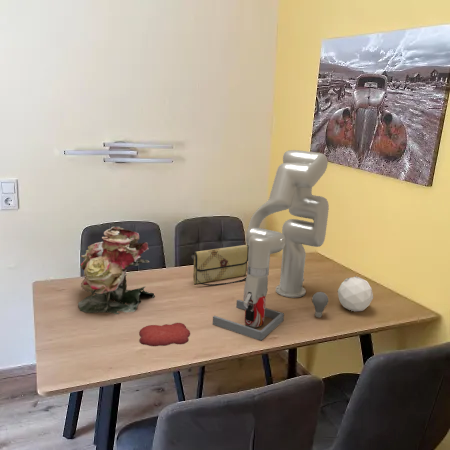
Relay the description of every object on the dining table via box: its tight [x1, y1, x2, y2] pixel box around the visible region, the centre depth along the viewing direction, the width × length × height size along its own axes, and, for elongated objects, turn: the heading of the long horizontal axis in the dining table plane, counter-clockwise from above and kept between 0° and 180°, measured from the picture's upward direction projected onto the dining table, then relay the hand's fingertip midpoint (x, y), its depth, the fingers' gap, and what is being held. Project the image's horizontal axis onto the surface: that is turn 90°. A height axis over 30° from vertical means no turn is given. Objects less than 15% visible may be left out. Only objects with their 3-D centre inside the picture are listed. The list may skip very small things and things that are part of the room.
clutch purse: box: [191, 244, 249, 287], centre depth 204 cm, size 30×7×15 cm, turn 120°
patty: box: [138, 322, 191, 347], centre depth 158 cm, size 18×14×2 cm
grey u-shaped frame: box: [212, 299, 285, 341], centre depth 169 cm, size 18×20×3 cm
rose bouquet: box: [77, 225, 155, 315], centre depth 177 cm, size 26×29×30 cm
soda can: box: [244, 295, 267, 328], centre depth 167 cm, size 7×7×12 cm
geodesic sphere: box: [337, 275, 374, 312], centre depth 183 cm, size 14×14×14 cm
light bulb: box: [311, 291, 329, 318], centre depth 175 cm, size 6×6×10 cm
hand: (254, 315), depth 168 cm, fingers closed on soda can, 7 cm apart
